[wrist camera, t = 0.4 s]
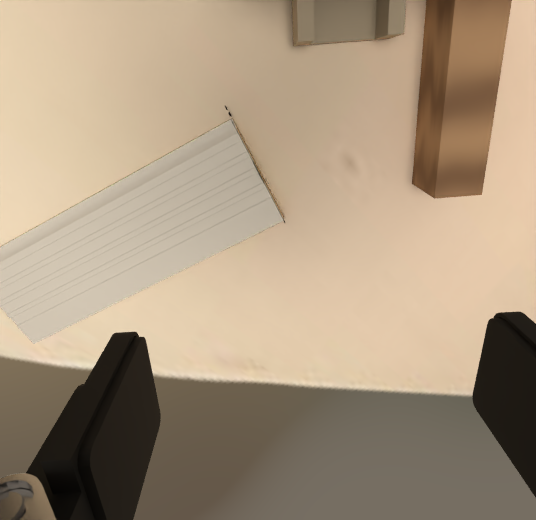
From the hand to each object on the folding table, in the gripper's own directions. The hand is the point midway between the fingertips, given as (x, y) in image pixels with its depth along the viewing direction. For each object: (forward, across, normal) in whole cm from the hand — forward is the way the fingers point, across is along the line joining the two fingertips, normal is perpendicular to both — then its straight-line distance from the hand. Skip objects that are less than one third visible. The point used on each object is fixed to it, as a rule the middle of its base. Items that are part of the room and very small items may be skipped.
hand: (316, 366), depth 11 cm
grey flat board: (+30, +16, +6) cm, 34 cm away
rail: (+29, -15, -6) cm, 33 cm away
